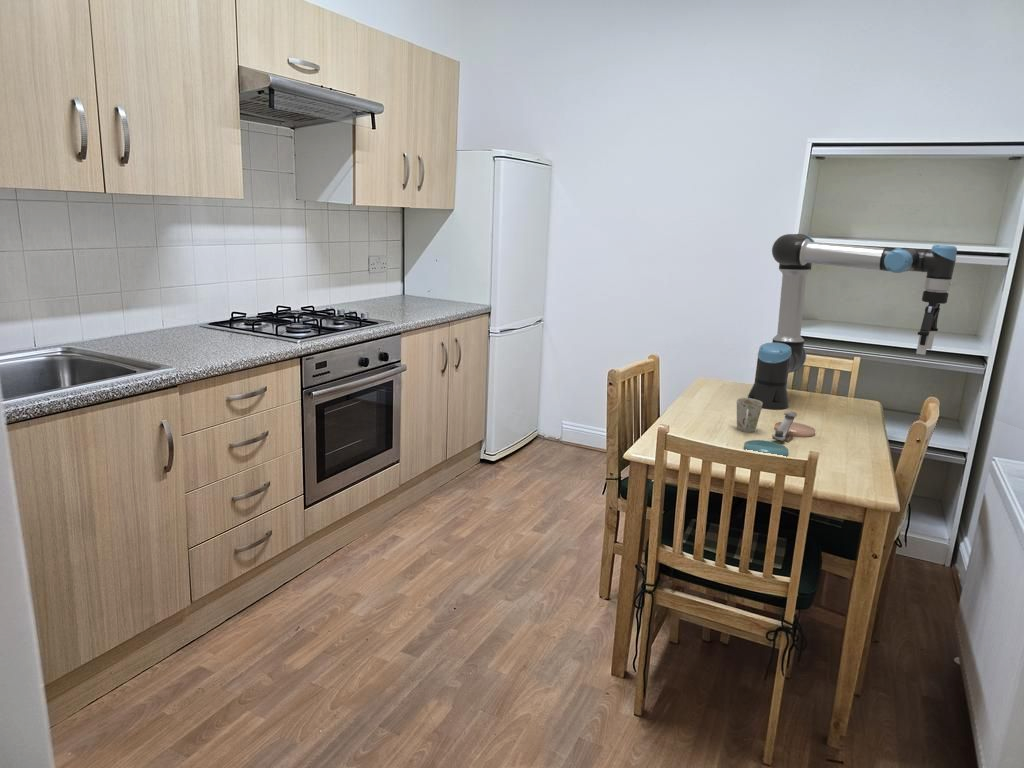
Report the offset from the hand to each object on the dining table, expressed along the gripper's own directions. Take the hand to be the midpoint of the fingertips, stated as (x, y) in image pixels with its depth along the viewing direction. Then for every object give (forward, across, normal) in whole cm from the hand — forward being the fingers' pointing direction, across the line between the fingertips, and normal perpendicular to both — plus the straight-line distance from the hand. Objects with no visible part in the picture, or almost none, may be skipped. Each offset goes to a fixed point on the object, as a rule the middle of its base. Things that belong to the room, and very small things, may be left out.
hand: (923, 351), depth 243 cm
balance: (+27, -51, +29) cm, 65 cm away
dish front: (+27, -67, +29) cm, 78 cm away
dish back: (+27, -39, +29) cm, 56 cm away
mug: (+28, -52, +41) cm, 72 cm away
